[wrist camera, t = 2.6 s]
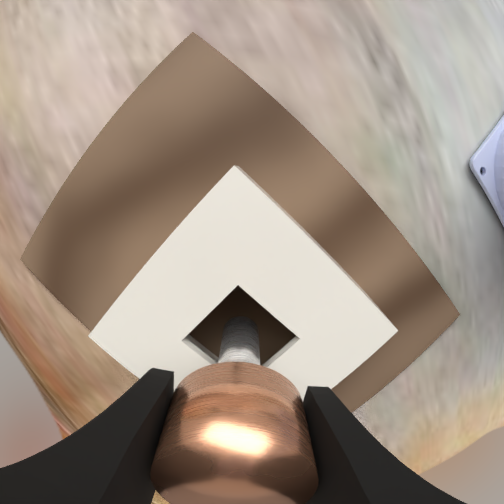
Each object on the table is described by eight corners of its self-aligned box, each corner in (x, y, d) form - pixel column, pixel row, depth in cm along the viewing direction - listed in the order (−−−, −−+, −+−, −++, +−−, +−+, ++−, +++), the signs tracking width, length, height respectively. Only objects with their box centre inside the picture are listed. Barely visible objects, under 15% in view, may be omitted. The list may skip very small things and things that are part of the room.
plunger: (304, 329, 13) (351, 480, 6) (242, 382, 13) (240, 532, 6) (238, 271, 12) (224, 410, 5) (177, 332, 13) (121, 478, 5)
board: (456, 311, 17) (460, 314, 17) (278, 457, 20) (279, 461, 20) (194, 34, 13) (192, 31, 13) (23, 257, 16) (20, 259, 16)
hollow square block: (363, 290, 16) (398, 330, 12) (246, 392, 18) (245, 449, 14) (238, 166, 15) (234, 165, 10) (124, 295, 16) (88, 336, 12)
